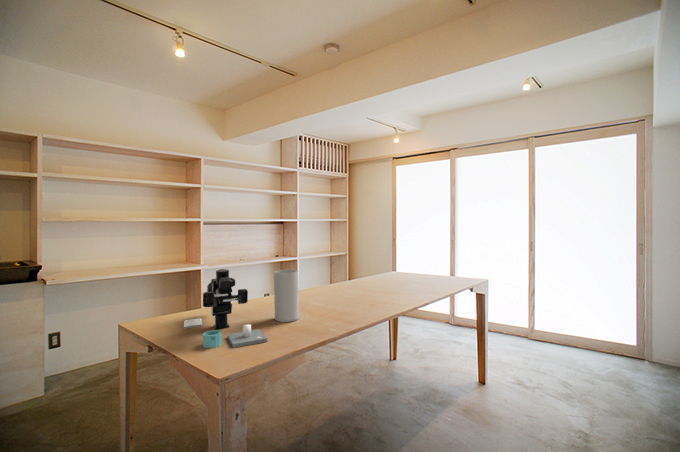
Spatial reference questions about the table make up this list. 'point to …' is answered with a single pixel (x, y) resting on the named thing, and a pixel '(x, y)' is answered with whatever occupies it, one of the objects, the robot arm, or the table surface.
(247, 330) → the flat gray panel
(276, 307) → the cylinder vase
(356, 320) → the table surface
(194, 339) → the table surface
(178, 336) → the table surface
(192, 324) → the external hard drive
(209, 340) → the mug with handle
